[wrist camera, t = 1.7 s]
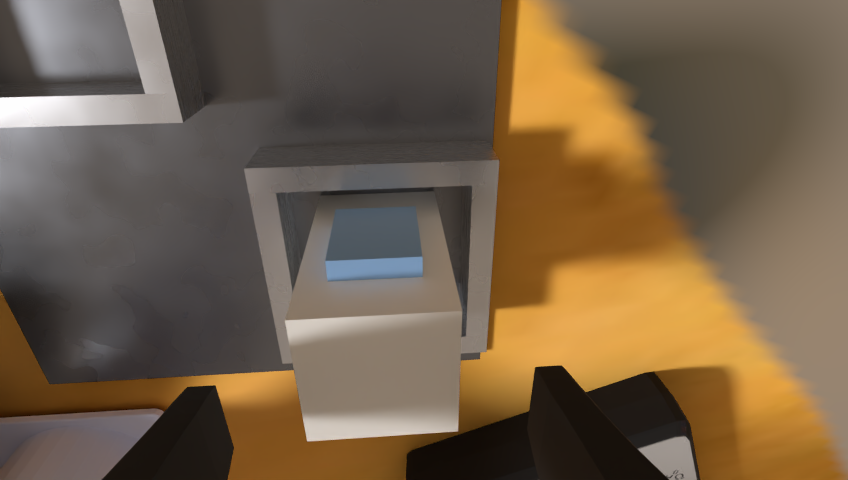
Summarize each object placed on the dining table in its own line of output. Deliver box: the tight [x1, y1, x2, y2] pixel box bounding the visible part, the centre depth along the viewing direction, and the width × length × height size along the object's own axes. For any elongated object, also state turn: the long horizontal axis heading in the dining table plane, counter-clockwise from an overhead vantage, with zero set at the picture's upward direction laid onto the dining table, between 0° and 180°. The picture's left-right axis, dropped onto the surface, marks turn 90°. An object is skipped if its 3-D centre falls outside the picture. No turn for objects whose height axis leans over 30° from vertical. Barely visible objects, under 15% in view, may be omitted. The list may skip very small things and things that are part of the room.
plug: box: [285, 191, 462, 441], centre depth 15 cm, size 5×4×7 cm
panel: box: [0, 0, 501, 384], centre depth 15 cm, size 20×18×2 cm
